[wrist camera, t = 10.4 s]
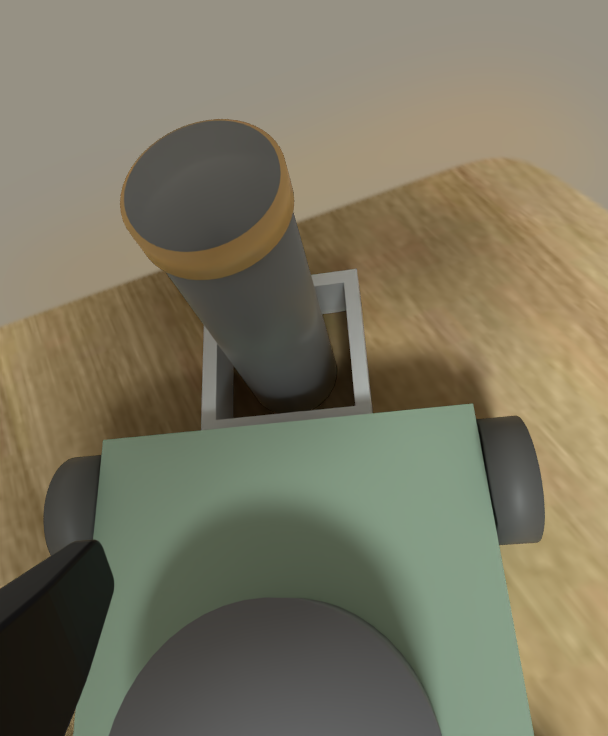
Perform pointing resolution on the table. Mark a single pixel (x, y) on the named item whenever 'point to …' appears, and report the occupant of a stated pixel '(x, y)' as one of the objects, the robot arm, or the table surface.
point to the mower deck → (306, 566)
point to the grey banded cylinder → (235, 254)
